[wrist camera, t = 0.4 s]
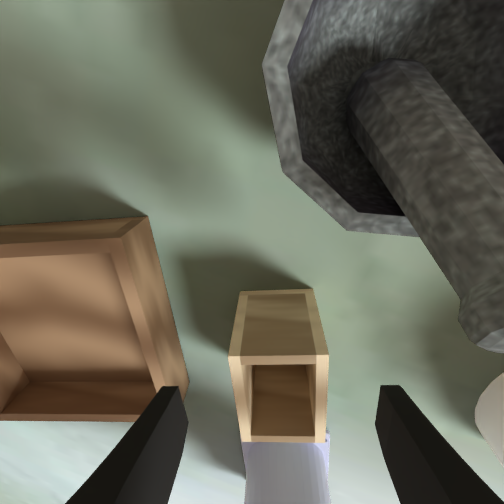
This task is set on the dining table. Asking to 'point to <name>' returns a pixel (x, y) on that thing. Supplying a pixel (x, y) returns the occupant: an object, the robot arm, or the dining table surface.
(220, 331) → the dining table surface
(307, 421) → the small crate
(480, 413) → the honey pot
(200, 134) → the dining table surface
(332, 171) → the mortar and pestle
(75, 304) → the large crate
